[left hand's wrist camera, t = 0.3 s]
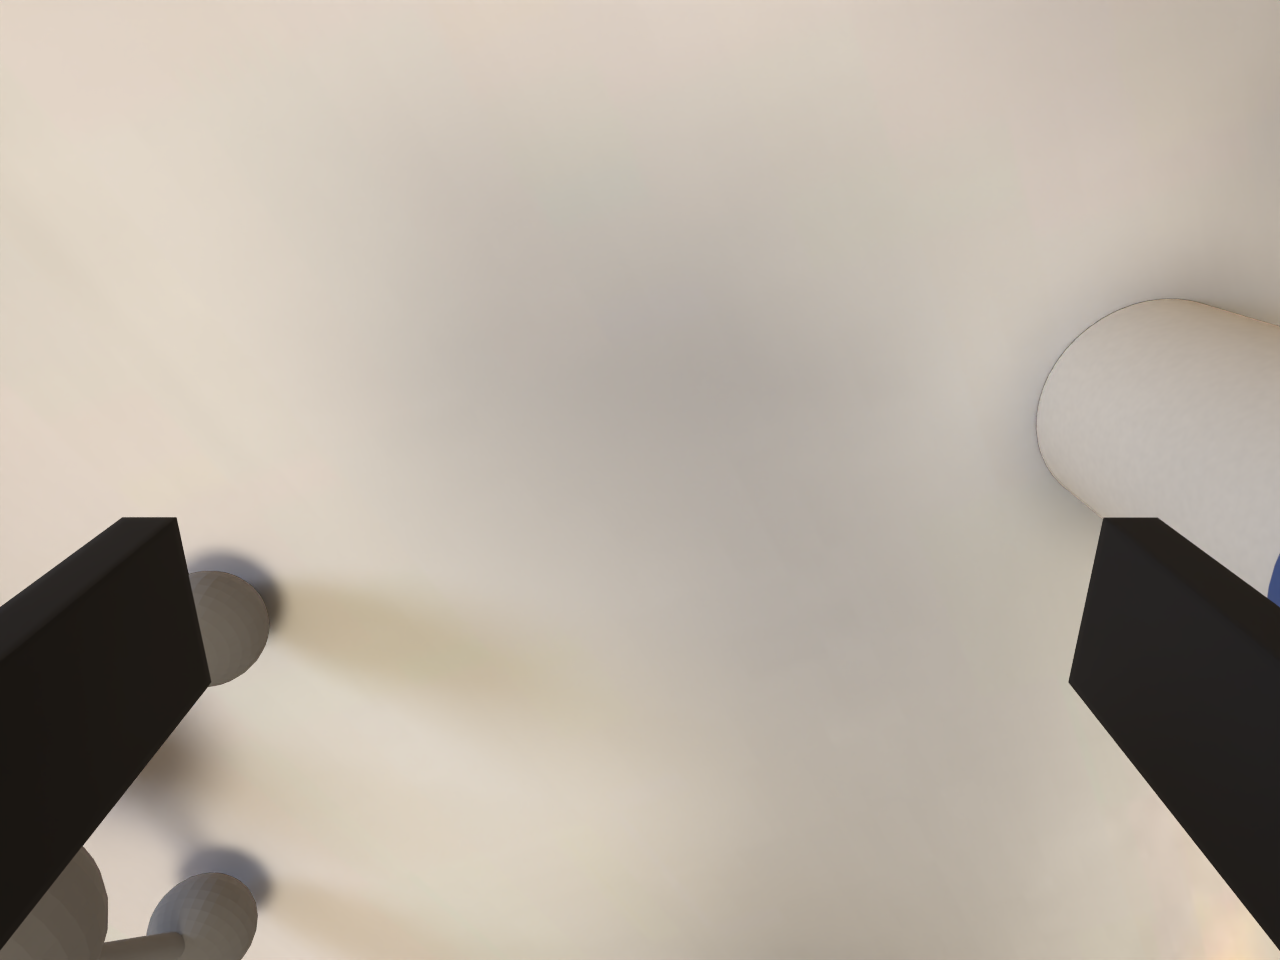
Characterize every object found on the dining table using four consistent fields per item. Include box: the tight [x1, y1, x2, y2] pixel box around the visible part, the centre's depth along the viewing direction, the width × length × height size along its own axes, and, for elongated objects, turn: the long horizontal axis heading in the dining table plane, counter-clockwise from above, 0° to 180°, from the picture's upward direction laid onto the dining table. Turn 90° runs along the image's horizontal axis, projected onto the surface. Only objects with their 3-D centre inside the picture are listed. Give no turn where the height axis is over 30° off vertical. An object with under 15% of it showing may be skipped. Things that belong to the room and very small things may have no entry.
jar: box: [1036, 299, 1280, 597], centre depth 32 cm, size 10×10×18 cm
